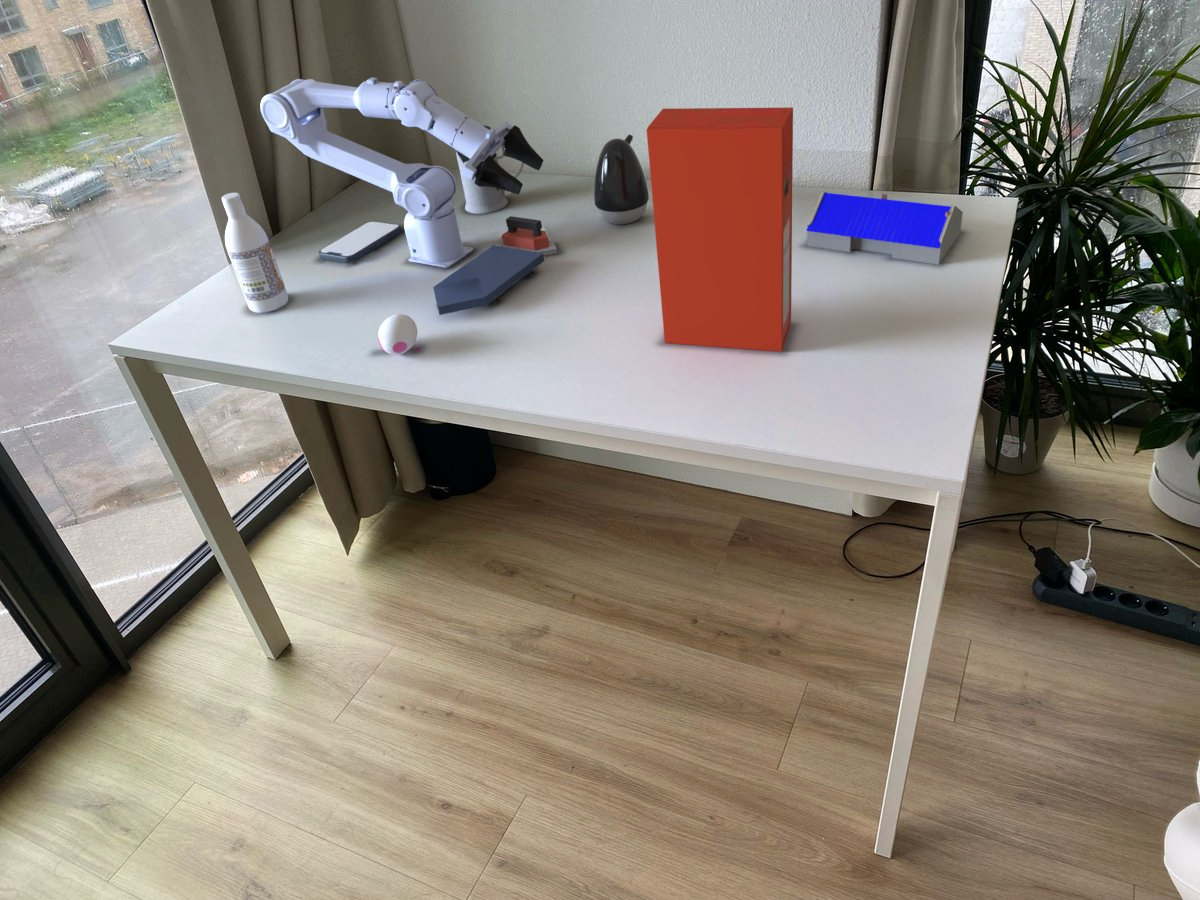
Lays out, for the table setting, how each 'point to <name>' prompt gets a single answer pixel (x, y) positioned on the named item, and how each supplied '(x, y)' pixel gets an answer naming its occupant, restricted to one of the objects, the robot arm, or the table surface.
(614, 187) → the black egg-shaped figure
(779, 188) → the file binder
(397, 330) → the stress ball
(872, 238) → the blue roofed model house
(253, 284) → the bath foam
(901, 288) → the table surface
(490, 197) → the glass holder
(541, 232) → the iron
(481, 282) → the ironing board
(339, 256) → the smartphone with white screen
